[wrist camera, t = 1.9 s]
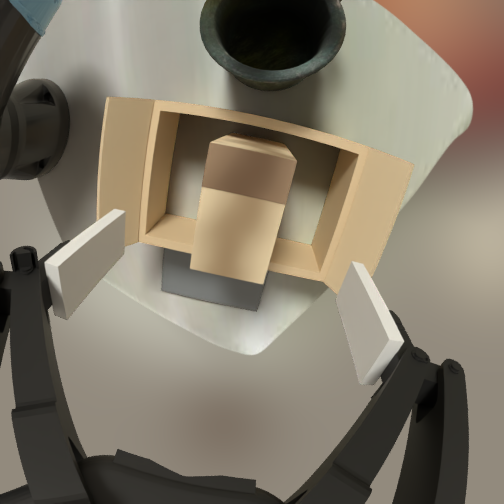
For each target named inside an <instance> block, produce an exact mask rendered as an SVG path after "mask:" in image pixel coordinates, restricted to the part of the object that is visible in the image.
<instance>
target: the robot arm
mask: <svg viewBox="0 0 504 504" xmlns="http://www.w3.org/2000/svg"><path fill="white" fill-rule="evenodd" d="M61 2H62V0H0V180H1V179H17V180H31V179H34V178H37V177H39V176H42V175H44V174H46V173H48V172H49V171H50V170H51V169H52V168H53V167H54V166H55V165H56V164H57V162H58V161H59V159H60V158H61V156H62V154H63V151H64V149H65V146H66V143H67V139H68V133H69V109H68V105H67V101H66V98H65V96H64V94H63V92H62V90H61V89H60V88H59V86H58V85H56V84H55V83H54V82H52V81H50V80H47V79H29V80H26V81H23V82H21V83H19V84H17V85H16V83H17V80H18V78H19V76H20V74H21V72H22V70H23V68H24V66H25V64H26V62H27V60H28V59H29V57H30V55H31V53H32V51H33V50H34V48H35V46H36V44H37V43H38V41H39V40H40V38H41V36H42V37H43V35H44V34H45V30H46V28H47V26H48V25H49V23H50V21H51V20H52V18H53V16H54V15H55V13H56V12H57V10H58V9H59V7H60V5H61ZM125 217H126V211H123V210H118V209H113V210H112V211H111V212H109V213H108V214H106V215H105V216H104V217H102V218H101V219H99V220H98V221H97V222H95V223H94V224H93V225H91V226H90V227H88V228H87V229H86V230H84V231H83V232H82V233H80V234H79V235H78V236H77V237H75V238H74V239H73V240H71V241H70V240H68V241H65V242H63V243H60V244H59V245H58V246H57V247H55V248H54V249H53V250H51V251H50V252H49V253H48V254H47V255H45V256H44V257H43V258H41V259H40V260H39V261H38V259H37V251H36V249H35V248H34V247H31V246H23V247H19V248H16V249H14V250H13V251H12V252H11V254H10V259H11V264H12V269H13V271H4V270H3V265H2V263H1V262H0V366H1V362H2V357H3V353H4V349H5V344H6V340H7V337H8V333H9V329H10V346H11V347H10V348H11V367H12V379H13V387H14V395H15V402H16V408H15V409H12V413H11V414H12V422H13V428H14V433H15V438H16V442H17V447H18V451H19V455H20V459H21V463H22V467H23V470H24V474H25V477H26V480H27V483H28V484H26V485H24V486H21V487H19V488H16V489H14V490H11V491H9V492H6V493H3V494H0V504H365V502H366V501H367V499H368V498H369V496H370V494H371V492H372V489H371V488H370V485H371V483H372V481H373V480H374V478H375V477H376V475H377V473H378V472H379V470H380V468H381V467H382V465H383V463H384V461H385V460H386V458H387V456H388V455H389V453H390V451H391V449H392V448H393V446H394V444H395V442H396V440H397V438H398V436H399V434H400V432H401V430H402V428H403V426H404V424H405V422H406V420H407V418H408V416H409V414H410V412H411V409H412V415H411V422H410V428H409V434H408V440H407V445H406V450H405V455H404V460H403V464H402V469H401V473H400V477H399V481H398V485H397V489H396V492H395V496H394V499H393V503H392V504H465V496H466V487H467V474H468V453H469V431H468V430H469V427H468V405H467V393H466V382H465V374H464V370H463V368H462V367H461V365H460V364H459V363H458V362H456V361H454V360H452V359H446V360H445V361H444V362H443V363H442V364H441V366H439V365H437V364H434V363H431V362H430V359H429V356H428V355H427V354H426V352H424V351H423V350H422V349H420V348H418V347H414V346H413V344H412V343H411V340H410V338H409V336H408V334H407V332H406V331H405V328H404V327H403V325H402V323H401V321H400V319H399V317H398V316H397V315H396V314H395V313H394V312H393V311H391V310H388V308H387V306H386V304H385V302H384V301H383V299H382V297H381V295H380V293H379V291H378V289H377V288H376V286H375V284H374V282H373V280H372V279H371V277H370V275H369V273H368V271H367V270H366V268H365V266H364V264H362V263H358V262H354V261H351V264H350V266H349V269H348V271H347V274H346V276H345V278H344V281H343V283H342V285H341V288H340V290H339V293H338V295H337V297H336V299H335V301H336V304H337V307H338V310H339V314H340V317H341V320H342V323H343V326H344V330H345V334H346V337H347V340H348V344H349V347H350V351H351V354H352V358H353V362H354V365H355V369H356V372H357V376H358V380H359V384H363V385H374V384H375V383H376V382H377V380H378V379H379V378H380V376H381V379H382V382H383V383H382V384H381V386H380V387H379V388H378V390H377V391H376V392H375V393H374V395H373V396H372V397H371V398H372V399H371V401H370V402H369V403H368V405H367V406H366V408H365V409H364V411H363V412H362V414H361V415H360V416H359V418H358V419H357V421H356V422H355V423H354V425H353V426H352V427H351V429H350V430H349V431H348V433H347V434H346V435H345V437H344V438H343V439H342V440H341V442H340V443H339V444H338V445H337V447H336V448H335V449H334V450H333V452H332V453H331V454H330V455H329V456H328V457H327V459H326V460H325V461H324V462H323V463H322V464H321V466H320V467H319V468H318V469H317V470H316V471H315V472H314V473H313V475H312V476H311V477H310V478H309V479H308V480H307V481H306V482H305V483H304V484H303V485H302V486H301V487H300V488H299V490H297V491H296V492H295V493H294V494H293V495H292V496H291V497H289V498H288V499H287V500H286V501H285V502H282V501H281V500H280V499H278V498H277V497H276V496H274V495H272V494H271V493H269V492H267V491H265V490H262V489H260V488H256V480H251V479H243V478H235V477H228V476H195V477H186V476H182V475H179V474H177V473H175V472H173V471H171V470H169V469H167V468H165V467H163V466H161V465H159V464H157V463H155V462H154V461H152V460H150V459H147V458H143V457H140V456H137V455H134V454H131V453H128V452H125V451H122V450H119V449H117V452H116V455H115V456H113V455H99V456H92V457H88V458H87V456H86V454H85V452H84V450H83V448H82V445H81V443H80V441H79V438H78V436H77V433H76V430H75V427H74V424H73V421H72V418H71V415H70V411H69V408H68V405H67V401H66V398H65V395H64V391H63V386H62V382H61V378H60V374H59V370H58V365H57V361H56V356H55V350H54V346H53V339H52V333H51V326H50V319H49V314H48V309H49V308H50V307H51V305H52V306H53V311H54V315H55V316H58V317H60V318H63V319H66V320H68V319H69V317H70V316H71V315H72V314H73V312H74V311H75V310H76V309H77V308H78V306H79V305H80V304H81V303H82V301H83V300H84V299H85V298H86V297H87V295H88V294H89V293H90V292H91V291H92V290H93V288H94V287H95V286H96V285H97V284H98V283H99V281H100V280H101V279H102V278H103V277H104V276H105V275H106V273H107V272H108V271H109V270H110V269H111V268H112V267H113V266H114V265H115V263H116V262H117V261H118V260H119V259H120V258H121V257H122V256H123V255H124V249H125Z"/></svg>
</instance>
